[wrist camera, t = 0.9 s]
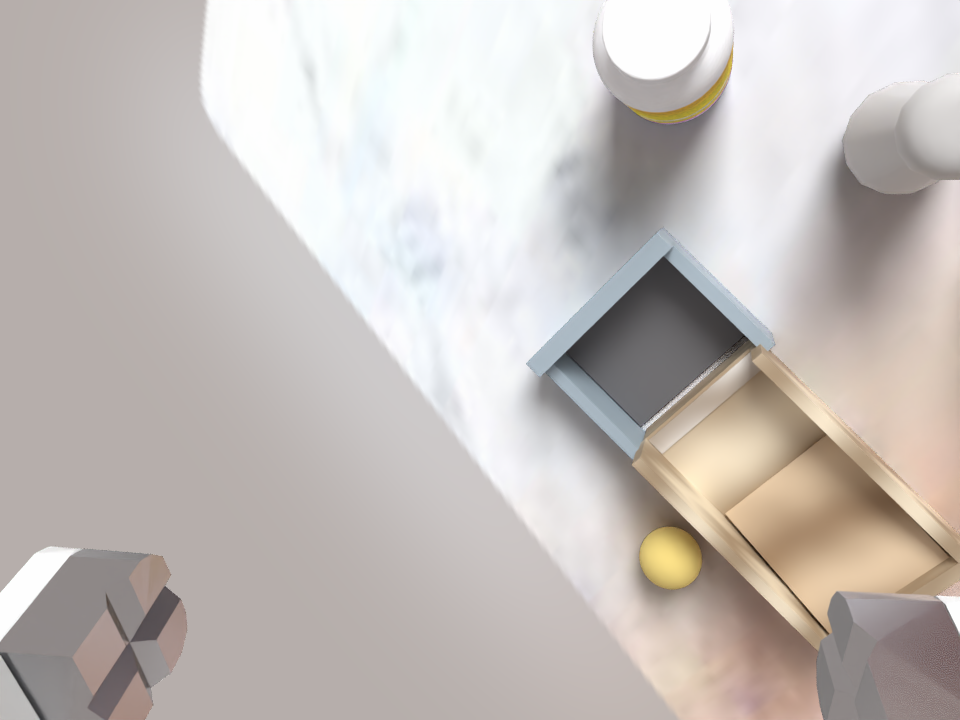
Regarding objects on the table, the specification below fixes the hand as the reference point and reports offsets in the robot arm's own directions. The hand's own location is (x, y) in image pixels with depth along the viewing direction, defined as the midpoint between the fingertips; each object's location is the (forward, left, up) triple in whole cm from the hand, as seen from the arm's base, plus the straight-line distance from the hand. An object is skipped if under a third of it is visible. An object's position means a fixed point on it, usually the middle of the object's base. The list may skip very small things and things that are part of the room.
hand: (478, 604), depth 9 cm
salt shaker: (-4, -13, -41) cm, 43 cm away
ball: (-14, +14, -39) cm, 43 cm away
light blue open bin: (-3, +5, -41) cm, 41 cm away
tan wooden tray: (-15, +5, -41) cm, 44 cm away
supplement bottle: (+8, -8, -41) cm, 43 cm away
